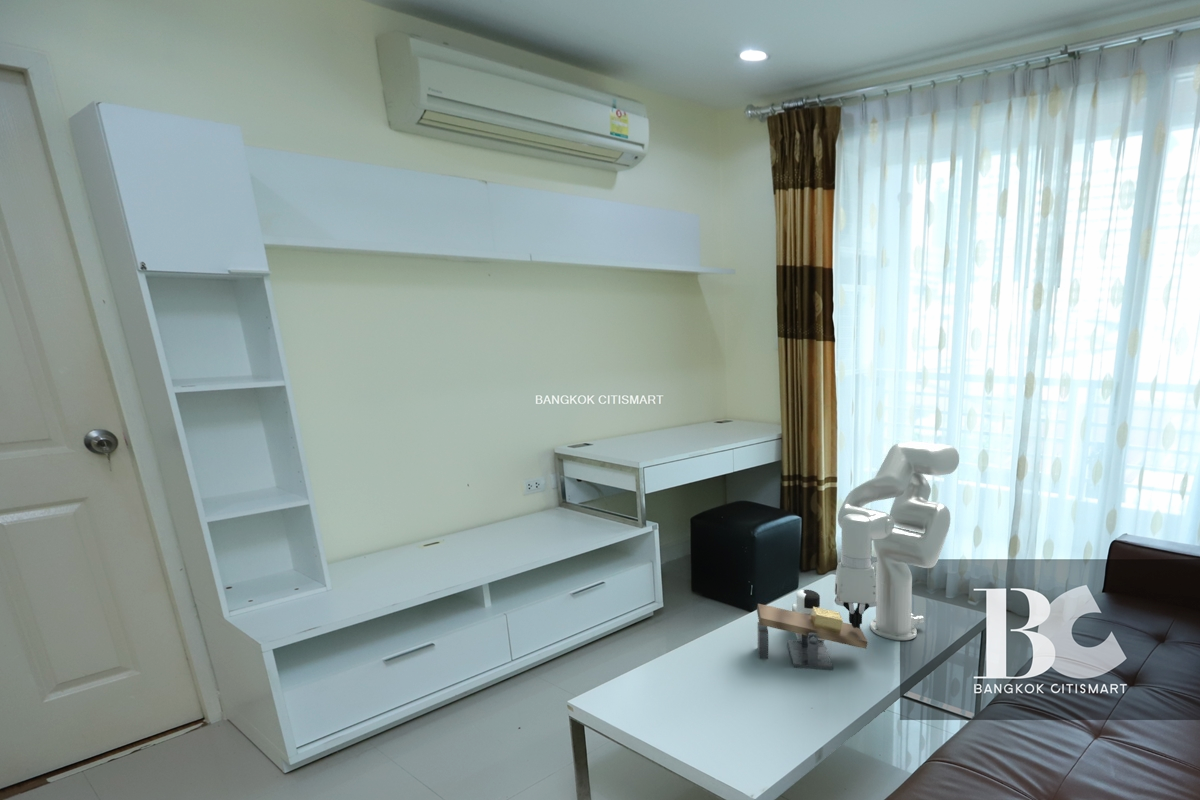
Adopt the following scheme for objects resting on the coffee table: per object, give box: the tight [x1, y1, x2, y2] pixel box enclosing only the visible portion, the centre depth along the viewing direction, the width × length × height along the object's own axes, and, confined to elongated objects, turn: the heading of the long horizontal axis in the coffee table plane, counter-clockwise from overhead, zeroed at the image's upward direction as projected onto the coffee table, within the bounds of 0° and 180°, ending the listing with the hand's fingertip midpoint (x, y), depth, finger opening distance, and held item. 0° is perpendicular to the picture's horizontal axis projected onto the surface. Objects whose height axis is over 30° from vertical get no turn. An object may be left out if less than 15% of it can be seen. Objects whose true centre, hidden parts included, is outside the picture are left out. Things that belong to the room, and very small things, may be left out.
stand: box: [757, 614, 834, 671], centre depth 166 cm, size 19×14×10 cm
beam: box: [756, 603, 869, 650], centre depth 165 cm, size 28×9×2 cm, turn 79°
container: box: [791, 589, 825, 641], centre depth 177 cm, size 8×8×13 cm
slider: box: [811, 607, 844, 632], centre depth 164 cm, size 7×5×4 cm
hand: (855, 625), depth 162 cm, fingers closed
